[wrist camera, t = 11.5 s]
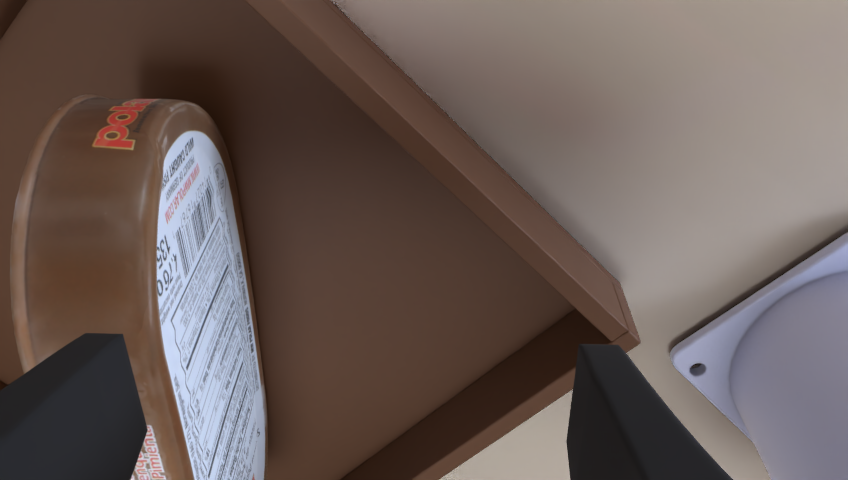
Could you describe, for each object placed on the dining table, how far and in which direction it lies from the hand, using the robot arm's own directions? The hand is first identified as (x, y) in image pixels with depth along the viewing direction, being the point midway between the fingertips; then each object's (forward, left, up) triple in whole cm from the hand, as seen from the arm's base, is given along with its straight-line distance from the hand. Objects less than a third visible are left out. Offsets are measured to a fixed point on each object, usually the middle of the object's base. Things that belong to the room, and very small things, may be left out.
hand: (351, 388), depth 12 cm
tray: (+1, +8, -10) cm, 13 cm away
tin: (+1, +7, -10) cm, 13 cm away
